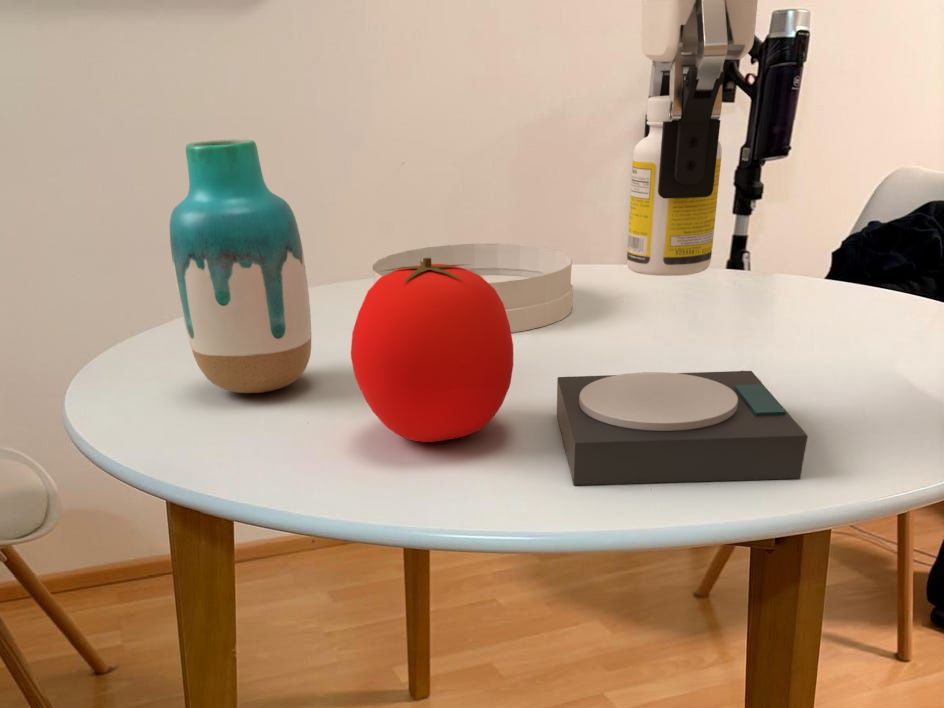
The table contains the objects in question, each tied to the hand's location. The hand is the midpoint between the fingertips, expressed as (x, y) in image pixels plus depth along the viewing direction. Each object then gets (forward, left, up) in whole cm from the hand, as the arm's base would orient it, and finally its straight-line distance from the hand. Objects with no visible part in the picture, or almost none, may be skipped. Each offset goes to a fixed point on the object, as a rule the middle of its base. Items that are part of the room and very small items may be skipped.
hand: (675, 186), depth 57 cm
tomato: (+16, -3, -17) cm, 24 cm away
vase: (+32, -16, -17) cm, 40 cm away
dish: (+13, -42, -17) cm, 47 cm away
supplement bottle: (0, 0, -5) cm, 5 cm away
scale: (-1, 0, -17) cm, 17 cm away
